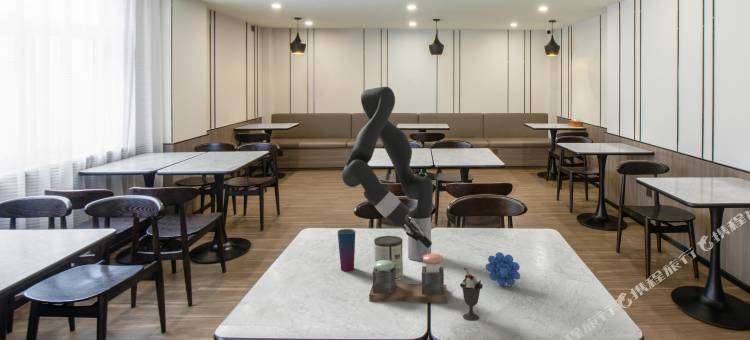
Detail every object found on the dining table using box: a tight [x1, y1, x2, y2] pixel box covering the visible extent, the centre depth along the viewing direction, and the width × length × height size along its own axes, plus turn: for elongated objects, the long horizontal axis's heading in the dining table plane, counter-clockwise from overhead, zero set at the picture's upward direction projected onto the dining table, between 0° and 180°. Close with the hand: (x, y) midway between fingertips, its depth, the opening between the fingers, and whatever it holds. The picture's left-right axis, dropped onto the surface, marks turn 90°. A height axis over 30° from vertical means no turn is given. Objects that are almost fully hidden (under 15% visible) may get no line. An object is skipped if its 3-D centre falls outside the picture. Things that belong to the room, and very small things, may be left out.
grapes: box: [485, 251, 521, 287], centre depth 179 cm, size 12×7×12 cm, turn 80°
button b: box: [422, 253, 444, 273], centre depth 172 cm, size 6×6×8 cm
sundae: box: [459, 267, 483, 322], centre depth 156 cm, size 7×7×15 cm
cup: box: [337, 228, 356, 272], centre depth 200 cm, size 7×7×15 cm
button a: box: [374, 260, 394, 272], centre depth 174 cm, size 6×6×8 cm
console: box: [368, 265, 448, 304], centre depth 174 cm, size 25×11×9 cm, turn 83°
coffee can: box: [373, 235, 404, 282], centre depth 191 cm, size 10×10×14 cm
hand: (429, 245), depth 171 cm, fingers closed
